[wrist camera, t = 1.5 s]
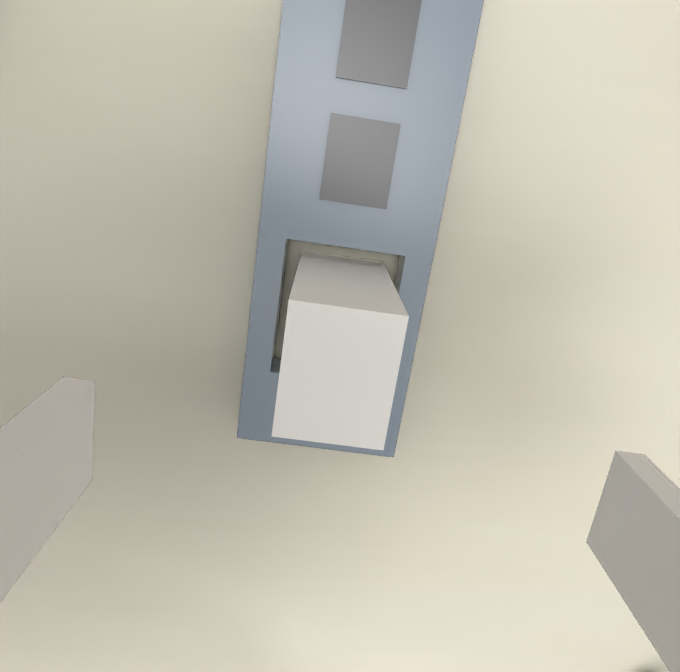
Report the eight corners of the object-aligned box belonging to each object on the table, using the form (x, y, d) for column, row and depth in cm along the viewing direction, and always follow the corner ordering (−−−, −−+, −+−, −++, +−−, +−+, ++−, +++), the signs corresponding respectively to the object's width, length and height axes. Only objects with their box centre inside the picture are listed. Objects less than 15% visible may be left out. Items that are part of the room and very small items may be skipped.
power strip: (242, 420, 31) (236, 439, 29) (293, -49, 25) (289, -67, 23) (389, 438, 32) (394, 459, 30) (477, -16, 25) (490, -31, 23)
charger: (290, 346, 30) (271, 436, 21) (302, 250, 29) (288, 299, 19) (366, 356, 30) (383, 450, 21) (382, 261, 29) (409, 316, 19)
